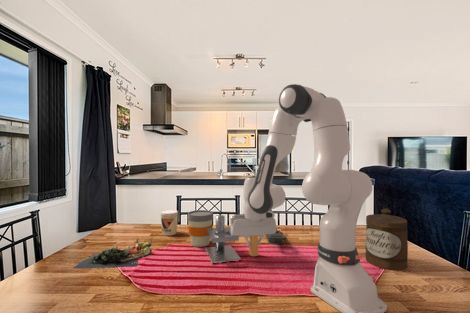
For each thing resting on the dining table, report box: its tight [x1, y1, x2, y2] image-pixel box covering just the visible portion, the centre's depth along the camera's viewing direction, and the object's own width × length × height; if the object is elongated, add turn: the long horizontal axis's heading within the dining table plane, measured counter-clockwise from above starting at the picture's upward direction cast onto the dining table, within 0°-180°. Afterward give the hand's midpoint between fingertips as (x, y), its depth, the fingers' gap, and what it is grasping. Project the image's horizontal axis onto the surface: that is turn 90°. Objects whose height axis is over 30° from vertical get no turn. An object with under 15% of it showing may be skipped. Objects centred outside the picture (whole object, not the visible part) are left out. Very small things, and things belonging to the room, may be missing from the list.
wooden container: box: [365, 207, 409, 271], centre depth 106 cm, size 15×15×22 cm
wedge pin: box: [248, 235, 259, 257], centre depth 112 cm, size 3×3×10 cm
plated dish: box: [73, 238, 153, 269], centre depth 111 cm, size 35×28×7 cm
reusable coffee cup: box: [187, 209, 214, 247], centre depth 127 cm, size 13×13×15 cm
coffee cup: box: [160, 209, 179, 237], centre depth 142 cm, size 9×9×12 cm
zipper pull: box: [265, 226, 287, 245], centre depth 128 cm, size 9×7×25 cm
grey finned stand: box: [204, 214, 242, 264], centre depth 112 cm, size 16×12×16 cm
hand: (253, 245), depth 112 cm, fingers closed on wedge pin, 3 cm apart
